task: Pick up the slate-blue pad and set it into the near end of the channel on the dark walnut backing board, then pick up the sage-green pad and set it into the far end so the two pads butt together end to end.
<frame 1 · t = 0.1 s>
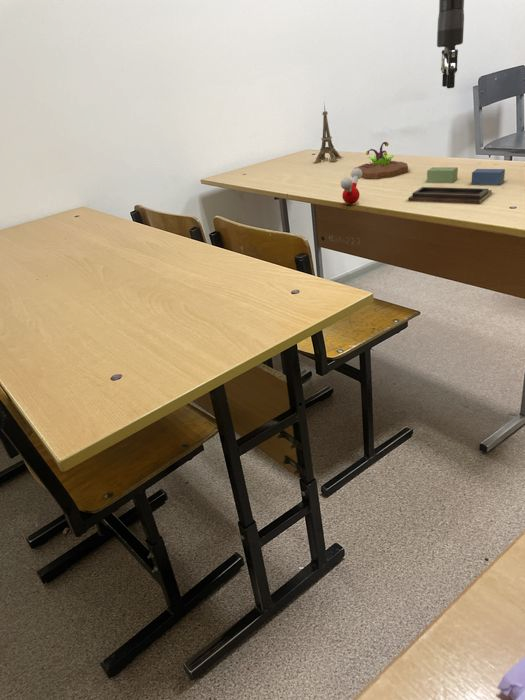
hand: (448, 87, 167), 30 cm above the table, tool pointing down, fingers open, 8 cm apart
pad b: (441, 180, 186), on the table
plant: (381, 173, 210), on the table
backing board: (449, 197, 167), on the table
molecular model: (351, 204, 174), on the table
pad a: (487, 183, 176), on the table
eiffel tower: (327, 160, 246), on the table
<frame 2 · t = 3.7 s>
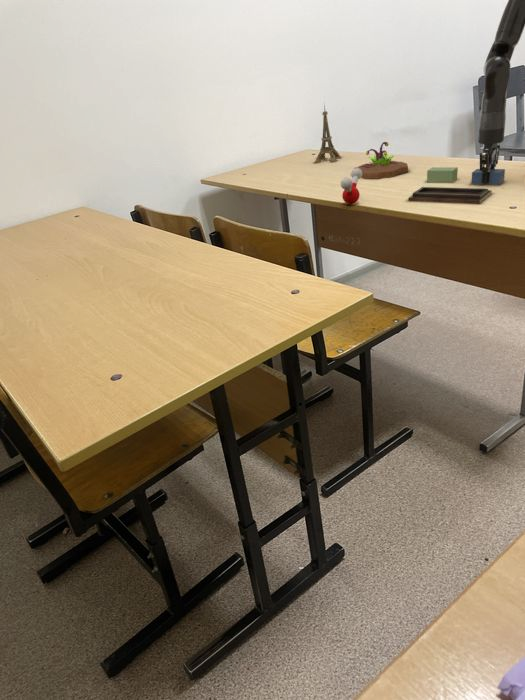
hand: (487, 181, 176), 1 cm above the table, tool pointing down, fingers closed on pad a, 5 cm apart
pad a: (487, 183, 176), on the table, touching gripper
everything else where it was.
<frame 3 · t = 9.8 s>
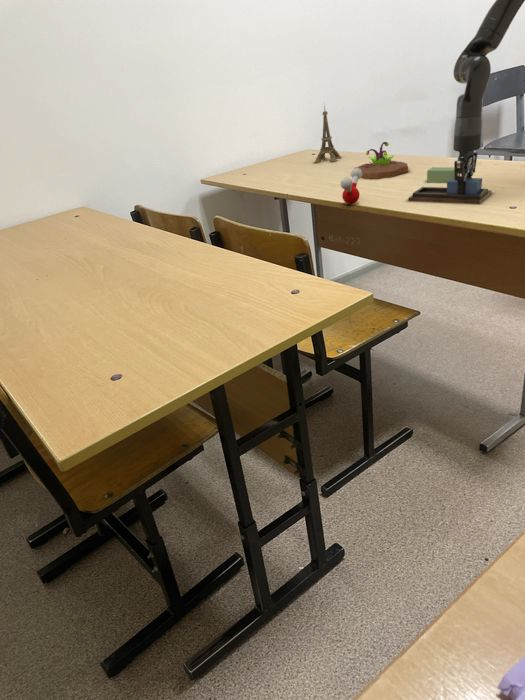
hand: (464, 191, 163), 2 cm above the table, tool pointing down, fingers closed on pad a, 5 cm apart
pad a: (463, 193, 163), point 1 cm above the table, touching gripper
everything else where it was.
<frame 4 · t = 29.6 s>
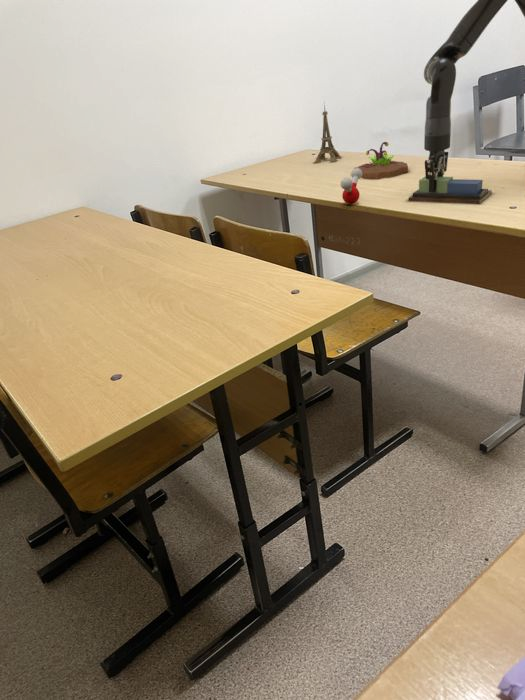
hand: (435, 189, 168), 2 cm above the table, tool pointing down, fingers closed on pad b, 5 cm apart
pad b: (435, 191, 168), point 2 cm above the table, touching gripper
pad a: (464, 194, 164), point 1 cm above the table, touching backing board
everything else where it was.
when the fingers open (3 cm above the table, at t = 37.7 s): pad b drops 1 cm, resting on backing board.
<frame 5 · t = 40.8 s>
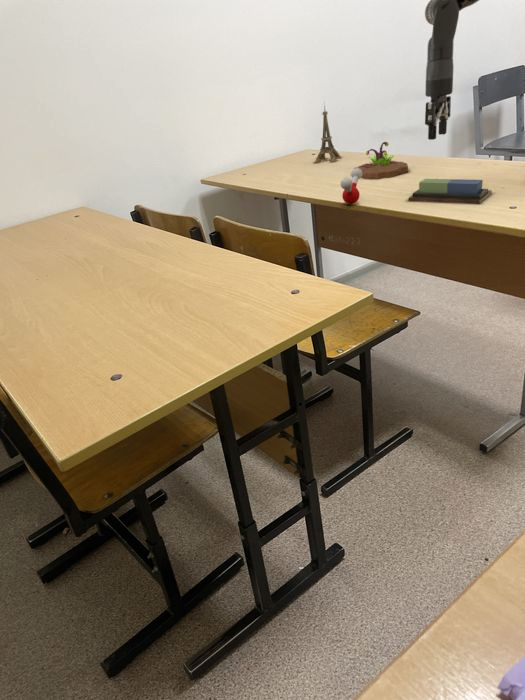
hand: (437, 136, 160), 18 cm above the table, tool pointing down, fingers open, 8 cm apart
pad b: (435, 193, 169), point 1 cm above the table, touching backing board
everything else where it was.
at the end: pad a 0.0 cm from the target spot on the backing board, point 1.0 cm above the backing board's base; pad b 0.1 cm from the target spot on the backing board, point 1.0 cm above the backing board's base; pad b 9.0 cm from the pad a (horizontally) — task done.
